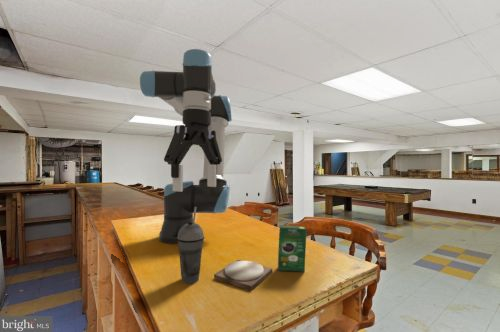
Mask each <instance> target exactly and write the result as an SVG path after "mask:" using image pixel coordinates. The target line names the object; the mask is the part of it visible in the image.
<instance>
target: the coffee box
mask: <svg viewBox="0 0 500 332" xmlns="http://www.w3.org/2000/svg"><path fill="white" fill-rule="evenodd" d="M306 249H307V228H306V227H305V226H296V225H295V226H293V225H279V231H278V252H277V253H278V254H277V255H278V256H277V269H278V271H282V272H303V273H304V272H305V270H306Z"/></svg>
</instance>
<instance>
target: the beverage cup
mask: <svg viewBox="0 0 500 332" xmlns="http://www.w3.org/2000/svg"><path fill="white" fill-rule="evenodd" d="M196 208H197V207H195V208H194V213H193V223H187V224H185V225H183V226H182V227H181V229H180V230H179V232H178V237H177V240H178V243H177V246H178V250H179V251H178V253H179V265H180V276H181V282H182V283H183V284H186V285H192V284H195V283H197V282H199V280H200V279H199V278H200V275H201V274H200V273H201V265H202V264H201V262H202V251H203V245H204V240H205V235H204V234H205V233H204V230H203V229H202V227H201V226H200V224H198V223H196V222H195V220H196V214H197V213H196Z"/></svg>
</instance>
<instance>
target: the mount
mask: <svg viewBox="0 0 500 332" xmlns="http://www.w3.org/2000/svg"><path fill="white" fill-rule="evenodd" d="M272 273H273V268H271V267H267V266H263V265H262V264H260V263H258V262H255V261H252V260H251V261H250V260H241V259H237V260H235V261H232V262H230V263H228V264H227V265H226V266H225V267H224V268H222V269H220V270H219V271H217V272H216V273H214V275H213V279H214V280H216V281H220V282H223V283H226V284H229V285H232V286H236V287H239V288H242V289H244V290H248V291H250V292H251V291H254V290H255V288H257V287H258V286H259V285H260V284H261V283H263V282H264V281H265V280H266V279H267V278H268V277H269V276H270V275H272Z"/></svg>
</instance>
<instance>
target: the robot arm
mask: <svg viewBox="0 0 500 332" xmlns="http://www.w3.org/2000/svg"><path fill="white" fill-rule="evenodd" d="M181 66H182V71H164V70H162V71H161V70H148V71H147V70H145V71H142V72H141V74H140V76H139V87H140V90H141V93H142V94H143V95H144V96H145V97H150V98H151V97H152V98H159V99H161V100H162V101H163V102H165V103H167V104H168V105H170V106H171V107H172V108H173V109H174V111H175V112H176V113H177V114H179V115H180V116H182V124H180V125H179V124H177V125H175V126H174V131H173V135H172V137H171V141H170V142H169V145H168V148H167V150H166V152H165V154H164V157H163V161H164V162H165V163H167V164H168V165H170V176H171V178H172V183H168V184H166V185H165V186H164V190H163V191H164V192H163V223H162V224H161V229H160V231H159V233H158V234H159V235H158V236H159V237H158V238H159V240H158V241H160V242H162V243H165V244H178V240H177V237H178V232H179V230H180V229H181V227H182V226H183V225H185V224H187V223H193V216H194V208H195V207H197V208H196V214H213V215H214V214H219V213H220V214H221V213H222V214H223V213H225V212H226V211H227V209H228V205H229V197H230V191H231V190H230V189H231V187H230V185H229V184H227V180H226V179H225V178H224V171H225V170H224V169H225V168H224V167H225V166H224V164H225V139H226V138H225V136H226V133H225V131H226V127H228V126H229V122H232V110H231V100H230V98H229V96H226V95H221V94H220V95H215V94H216V92H217V91H216V90H217V89H216V82H215V80H214V76H213V71H212V70H213V69H212V68H213V63H212V55H211V54H210V53H209V52H208V51H206V50H203V49H201V48H200V49H199V48H198V49H197V48H192V49H188V50H186V51H185V52H184V53H183V60H182V65H181ZM192 146H199V147H200V148H201V150H202V151H203V153H204V157H203V169H202V170H203V172H202V177H200V179H198V184H195V182H194V181H193V180H190V181H189V180H188V181H184V180H183V178H184V164H181V163H182V162H183V160H184V159H185V157H186V155H187V154H188V152H189V150H190V149H191V147H192Z"/></svg>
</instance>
